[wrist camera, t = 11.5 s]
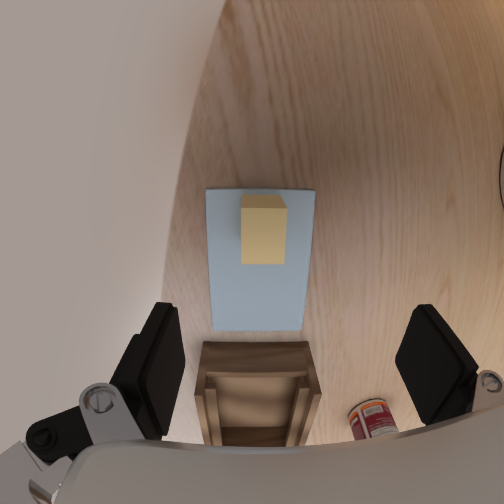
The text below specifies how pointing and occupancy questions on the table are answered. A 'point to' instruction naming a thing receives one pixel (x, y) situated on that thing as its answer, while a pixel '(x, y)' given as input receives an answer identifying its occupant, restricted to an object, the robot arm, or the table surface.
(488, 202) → the table surface
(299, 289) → the cover plate
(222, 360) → the walnut box
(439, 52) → the table surface
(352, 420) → the pill bottle
